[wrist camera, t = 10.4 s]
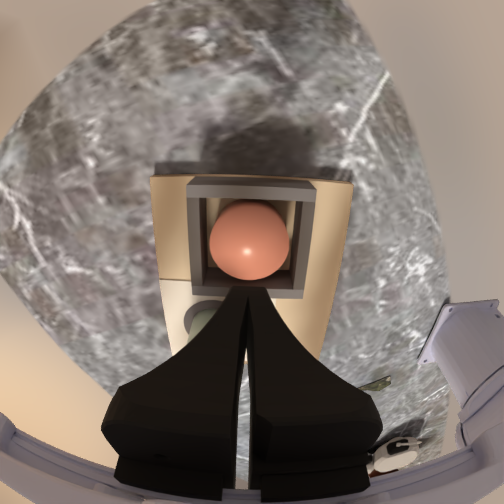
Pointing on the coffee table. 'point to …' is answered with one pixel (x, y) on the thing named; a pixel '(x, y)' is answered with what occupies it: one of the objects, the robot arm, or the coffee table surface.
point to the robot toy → (394, 454)
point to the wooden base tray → (277, 284)
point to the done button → (249, 239)
